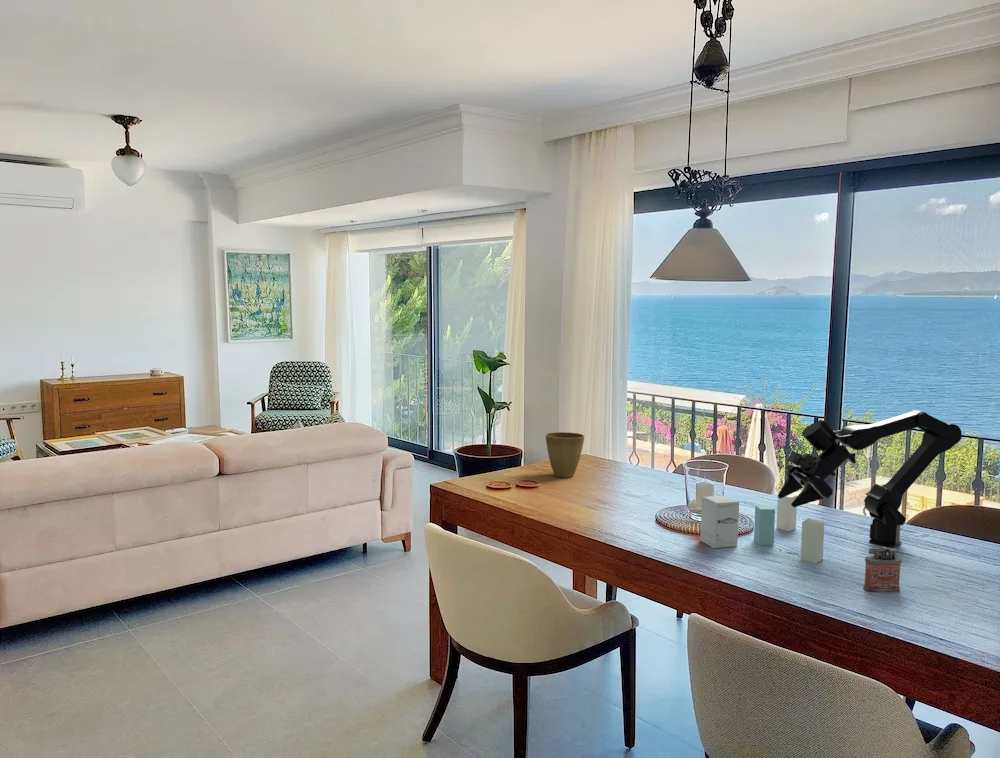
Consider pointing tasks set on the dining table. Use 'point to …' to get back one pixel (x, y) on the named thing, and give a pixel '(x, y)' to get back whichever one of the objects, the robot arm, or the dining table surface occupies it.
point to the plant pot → (564, 452)
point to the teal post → (764, 525)
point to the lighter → (882, 571)
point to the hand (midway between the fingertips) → (785, 501)
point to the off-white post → (786, 513)
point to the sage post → (812, 540)
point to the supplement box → (719, 521)
